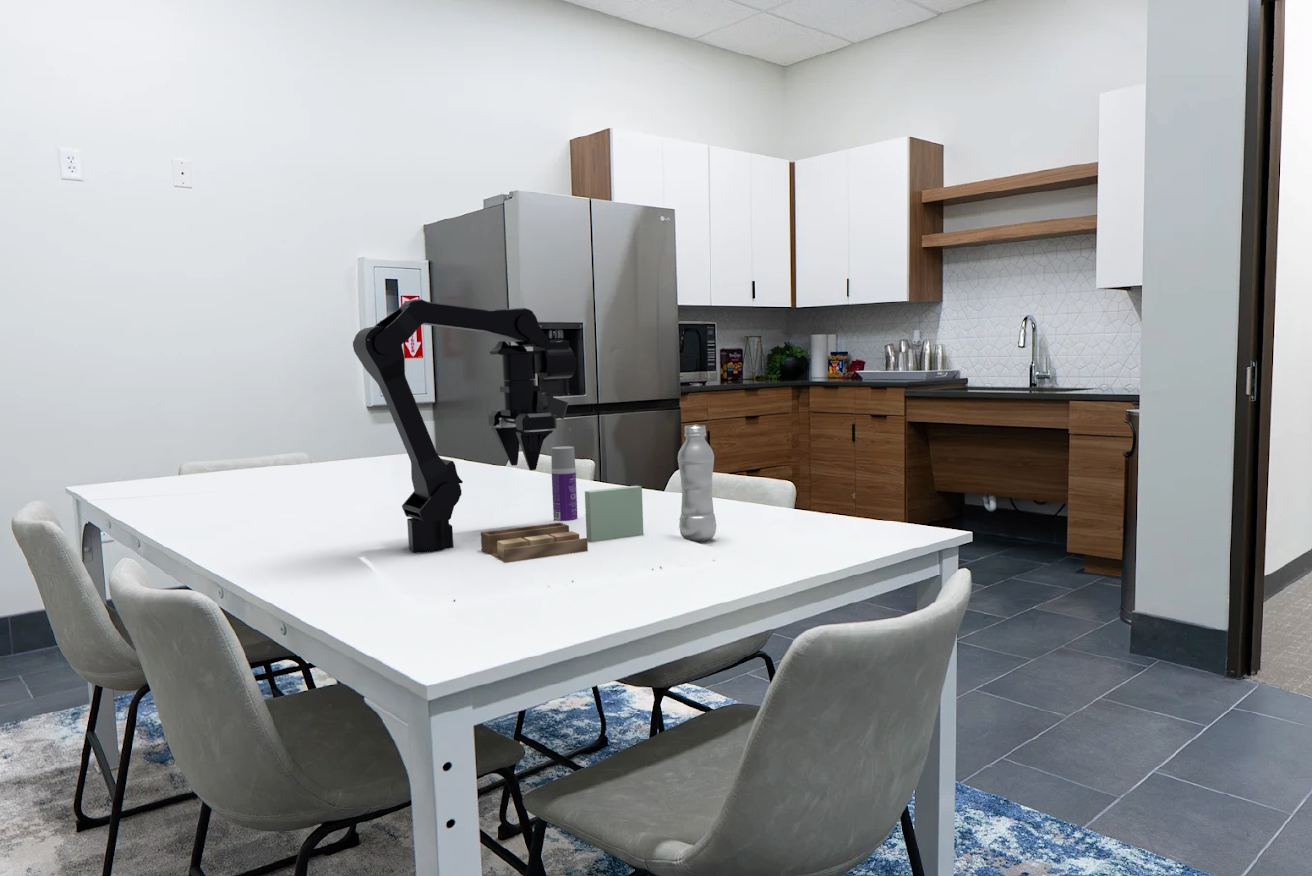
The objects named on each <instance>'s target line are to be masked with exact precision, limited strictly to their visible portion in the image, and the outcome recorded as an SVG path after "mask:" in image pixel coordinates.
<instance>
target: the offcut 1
mask: <svg viewBox="0 0 1312 876" xmlns="http://www.w3.org/2000/svg"><path fill="white" fill-rule="evenodd" d="M523 546H528V541H527V540H524V539H522V538H516V539H509V540H501V541H497V548H498V557H500V558H502V559H504V549H509V548H516V547H523Z"/></svg>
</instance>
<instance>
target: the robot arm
mask: <svg viewBox="0 0 1312 876" xmlns="http://www.w3.org/2000/svg"><path fill="white" fill-rule="evenodd" d="M538 321H539V320H538V318H537V316H536V315H535V313H534V311H532V310H531V309H529V308H526V307H521V308H519V307H517V308H502V309H482V308H475V307H467V306H461V305H460V306H459V305H454V304H448V303H447V304H446V303H440V302H433V301H426V300H424V299H422V298H415V299H411V300H410V299H409V300H407V301H404V302H403V303H402V304H401V306H400V307H399V308H397V309H396V310H395V311H393V312H392V313H390V314H389V315H388V316H386V317H385V318H383V319H382V320H380V321H379V322H377V324H375V325H374V326H369V327H365V328H364V327H363V328H362V329H361V330H359V331H358V332H357V333H356V334H355V337H354V339H353V341H352V347H353V351H354V353H355V355H356V356H357V359H358V360H359V361H360V363H361V364H362V366H363V367H364V369H365V370H366V371H367V373H368V374H369V375H370V376H371V378H372V379H374V381H375V382H376V383H377V385H378V387H379V389H380V391H381V393H382V396H383V399H384V400H385V403H386V406H387V408H388V410H389V413H390V415H391V417H392V420H393V422H394V425H395V427H396V430H397V433H398V434H399V437H400V439H401V441H402V443H403V445H404V449H405V450H406V451H405V452H406V453H407V456H408V458H409V460H410V465H411V468H410V469H411V473H410V474H411V477H410V478H411V482H412V486H413V492H412V493H411V494H410V496H409V497H408V498H406V500H405V501H404V503H402V505H401V508H402V510H403V512H404V513H403V514H405V517H407V522H406V523H407V536H408V538H407V539H408V550H409V551H410V552H411V553H413V554H417V553H418V554H419V553H421V554H422V553H423V554H424V553H425V554H426V553H435V552H437V553H438V552H441V551H445V550H449V549H452V548H453V549H454V534H453V533H454V532H453V530H454V529H453V525H452V524H450V520H451V518H452V515H453V511H454V509H455V506H456V505H457V504H458V502H459V500H460V498H461V496H462V488H461V484H463V480H462V479H461V478H460V476H459V475H458V472H457V471H458V470H457V467H456V463H455V461H453V460H449V459H445V458H441V457H440V456H439V454H438V452H437V451H436V448H435V445H434V443H433V440H432V438H431V436H430V433H429V431H428V428H427V425H426V423H425V421H424V418H423V416H422V413H421V411H420V409H419V406H418V404H417V402H416V400H415V397H414V394H413V392H412V388H411V387H410V384H409V382H408V380H407V377H406V365H405V364H406V358H405V357H406V356H405V353H404V348H403V344H404V343H406V342H407V341H408V340H409V339H410V338H412V336H413V335H414V333H416V331H417V330H418V329H419V328H420V327H421V326H422V325H424V326H431V327H438V328H440V327H441V328H448V329H454V330H463V331H472V332H479V333H481V334H485V335H487V336H489V337H491V338H494V339H497V340H499V341H498V342H497V344H496V345H495V347H493V348H492V349H491V350H490V351H489V354H490V355H491V356H501V361H502V362H501V363H502V364H501V365H502V386H499V393H503V406H504V407H503V408H502V409H493V410H492V411H491V412H490V413H489V414H488V418H487V419H488V426H492V427H491V430H492V431H493V433H494V434H495V436H496V438H497V441H499V444H500V446H501V448H502V450H503V452H504V453H505V455H506V457H507V461H509V464H510V466H518V462H519V457H520V456H519V453H520V448H521V451H522V454H523V457H524V458H525V459H524V460H525V462H526V465H527V467H528V469H529V470H530V471H536V470H537V467H538V462H539V459H540V454H541V449H542V446H543V443H544V440H545V439H546V438H547V437H548V436H550V434H553V432H554V430H556V429H557V428H558V426H557V420H558V419H561V420H564V419H565V415H566V413H567V408H568V405H569V402H568V401H564V400H561V399H558V398H556V397H554V395H553V394H550V393H547V392H544V391H543V392H542V387H541V386H540V385H537V383H536V381H537V380H536V376H537V377H538V378H540V379H541V380H549V379H553V380H554V379H570V378H572V377H573V376H574V374H575V373H576V370H577V358H576V357H575V353H574V351H573V349H572V348H571V347H570V341H569V340H558V341H551V340H550V339H549V337H548V336H547V335H546V333H545V332H544V330H543V329H542V327H541V326H540V325H539V322H538ZM507 342H508V343H507ZM509 343H514V345H511V344H509ZM526 348H532V350H527V349H526ZM536 374H537V375H536Z"/></svg>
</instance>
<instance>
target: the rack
mask: <svg viewBox="0 0 1312 876" xmlns="http://www.w3.org/2000/svg"><path fill="white" fill-rule="evenodd" d="M563 532H570V525H568V524H566V523H563V522H561V521H558V522H554V523H553V522H551V523H545V524H538V525H537V524H536V525H529V526H520V527H511V528H504V529H496V530H488V531H481V532H480V542H481V543H480V544H481V546H480V547H481V551H483V552H485V553H486V554H488V555H490V556H492V557H494V558H496V559H497V560H499V561H502V562H504V563H505V564H507V563H514V562H522V561H528V560H535V559H543V558H548V557H556V556H564V555H569V554H578V553H583V552H584V553H585V552H589V550H588V549H589V548H588V547H589V546H588V541H587V537H585V538H579V539H575V540H568V541H560V542H553V543H546V544H538V545H531V546H523V547H516V548H509V549H504V559H502V558H500V557H498V548H497V541H501V540H509V539H516V538H522V539H524V537H532V536H539V535H549V536H550V534H555V533H563Z"/></svg>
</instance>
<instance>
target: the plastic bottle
mask: <svg viewBox="0 0 1312 876" xmlns="http://www.w3.org/2000/svg"><path fill="white" fill-rule="evenodd" d="M706 432H707V431H706V425H705V424H690V425H685V426H684V434H683V435H684V437H685V440H684V442H683V444H682V445H681V447H680V449H679V451H678V454H677V463H678V469H679V470H678V471H679V474H680V475H679V476H680V484H681V486H680V487H681V508H680V509H681V511H680V517H679V526H678V529H679V532H680V535H681V537H682V538H683V539H684V540H686V541H692V542H697V543H698V542H703V541H708V540H711V539H713V538H714V537H715V535H716V532H717V520H716V516H715V513H714V512H715V511H714V503H713V502H714V501H713V475H714V474H713V473H714V465H715V454H714V452H713V451H714V450H713V449H712V447H711V446H710V445H709V443H708V441H707V440H706V438H705V437H707V433H706Z"/></svg>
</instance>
